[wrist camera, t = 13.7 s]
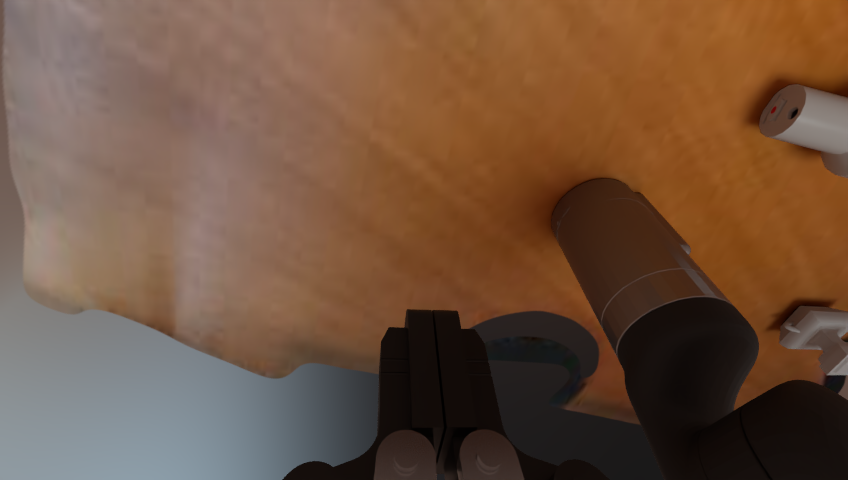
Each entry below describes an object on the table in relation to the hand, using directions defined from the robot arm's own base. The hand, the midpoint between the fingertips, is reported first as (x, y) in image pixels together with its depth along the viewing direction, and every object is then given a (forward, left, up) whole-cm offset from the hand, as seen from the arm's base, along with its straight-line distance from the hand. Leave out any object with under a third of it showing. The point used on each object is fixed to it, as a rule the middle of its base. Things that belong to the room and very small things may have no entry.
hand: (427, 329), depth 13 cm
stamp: (-59, +29, -29) cm, 72 cm away
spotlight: (-40, +1, -29) cm, 50 cm away
